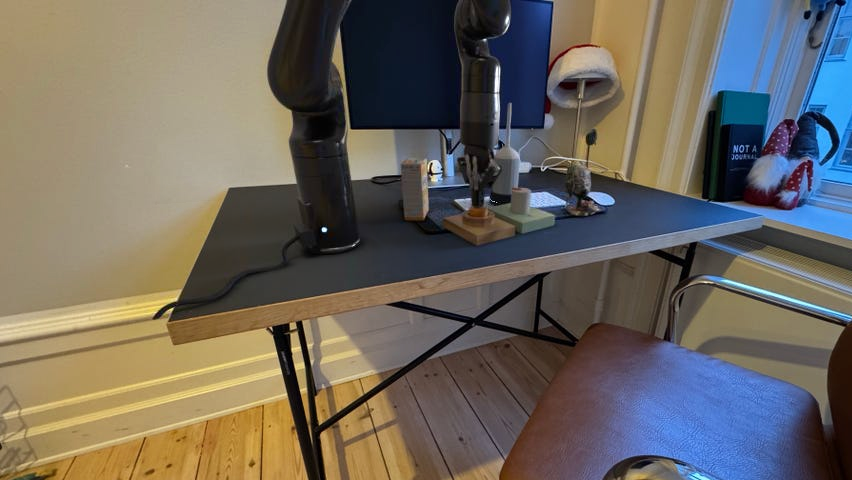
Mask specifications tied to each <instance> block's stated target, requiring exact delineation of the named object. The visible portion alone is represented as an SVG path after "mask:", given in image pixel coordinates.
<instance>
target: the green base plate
mask: <svg viewBox="0 0 852 480" xmlns="http://www.w3.org/2000/svg"><path fill="white" fill-rule="evenodd" d="M488 210H489V211H492V212H494V214H495V218H498V219H500V220H502V221H505V222H507V223H509V224H512V225H514V226H515V232H517V233H519V234H521V235H523V234H526V233H530V232H534V231H538V230H541V229H546V228H549V227H553V226H555V222H556V221H555V220H556V215H555V214H553V213H550V212H547V211H544V210H542V209H539V208H536V207H533V206H532V205H530V210H529V213H526V214H516V213H512V212H511V203H509V204H504V205H499V206H494V205H493V206H488Z"/></svg>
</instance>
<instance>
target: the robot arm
mask: <svg viewBox="0 0 852 480" xmlns="http://www.w3.org/2000/svg"><path fill="white" fill-rule="evenodd" d="M352 2H353V0H286V2H285V4H284V5H285V6H284V9H283V12H282V16H281V19H280V22H279V25H278V29H277V32H276V34H275V38H274V41H273V43H272V46H271V50H270V52H269V53H270V54H269V57H268V60H267V66H266V77H267V78H266V79H267V83H268V86H269V89H270V91H271V93H272V95H273V97H274V98H275V99H276V101H277V102H278V103H279V104H280V105H281V106H282V107H284V108H285V109H287V110H289V111H291V118H292V126H291V127H292V128H291V132H290V135H289V136H288V149H289V153H290V156H291V157H290V158H291V162H292V166H293V167H292V168H293V172H294V176H295V177H294V178H295V183H296V186H297V191H298V196H297V198H296V199H297V203H298V209H299V213H300V218H301V222H302V223H300V224H294V225H293V227H294V231H295V236H294V237H293V238H291V239H290V240H288V241H287V242H286V243H285V244H284V245H283V247H282V249H281V256H282V261H281V262H280V263H279V264H278V265H276V266H272V267H264V268H252V269H247V270H244V271H241V272H239V273H237V274H236V275H234V276H233V277H232V278H230V279H229V281H228V282H227V283H226V285H225V286H224V287H223V288H222V289H221V290H219V291H218V292H215V293H213V294H211V295H207V296H203V297H198V298H189V299H181V300H175V301H173V302H169V303H167V304H165V305H164V306H162V307H161V308H160V309H159V310H157V312H156V313H155V314H154V315H153V317H152V319H151V320H152V321H155V320H158V319H160V318H162V317H163V316H164V314H166V312H168V311H170V310H171V309H174V308H177V307H181V306H187V305H197V304H203V303H207V302H208V303H209V302H212V301H214V300H217V299H218V298H220V297H222V296H224V295H226V294H227V293H228V292H229V291H230V289H231V288H232V287H233V285H234V284H235V283H236V282H237V281H238V280H239V279H241V278H243V277H245V276H249V275H253V274H260V273H261V274H262V273H266V272H272V271H276V270H279V269H282V268H284V267H285V266H286V265H287V264H288V261H289V259H288V258H289V257H288V255H287V250H288V249H289V247H291V245H293V244H294V243H295V242H297V241H298V243H299V245H300V246H301V247H302V248H303V249H304V248H309V250H310V251H311V252H312V253H313V255H315V256H316V255H321V254H323V255H325V254H326V255H327V254H328V255H330V254H339V253H345V252H348V251H351V250H353V249H355V248H357V247H358V246H360V244H361V237H360V232H359V226H358V220H357V219H358V218H357V211H356V204H355V197H354V188H353V182H352V174H351V168H350V161H349V154H348V145H347V144H348V143H347V142H348V120H347V109H346V99H345V92H344V85H343V79H342V78H341V77H342V76H341V74H340V72H339V69H338V67H337V65H336V64H335V63H334V62H333V56H334V51H335V46H336V41H337V36H338V33H339V30H340V27H341V23H342V21H343V19H344V16H345V15H346V12H347V11H348V9H349V7H350V6H351V4H352ZM511 17H512V8H511V2H510V0H458V2H457V4H456V7H455V11H454V20H453V21H454V22H453V25H454V26H453V27H454V28H453V29H454V34H455V41H456V46H457V50H458V56H459V60H460V64H461V96H460V103H459V104H460V105H459V119H460V120H459V142H460V144H461V145H463V146H464V148H463V155H462V156H460V157H458V156H457V158H456V162H457V165H458V167H459V170H460V173H461V176H462V178H463V181H464V183H465V184H466V185H469V189H470V203H471V205H470V206H474V207H476V208H478V207H483V206H485V195H486V190H487V189H493V185H494V183H495V181H496V180H497V178H498V177H499V175H500V173H501V172H502V170H503V168H502V166H501V165H499V166H498V165H497V164H496V162H495V154H496V152H495V146H497V145H498V144H499V134H500V133H499V132H500V115H501V114H500V111H501V106H500V104H501V103H500V84H501V83H500V82H501V64H500V61H499V60H498V58H497V57H495V56H493V55H491V53H490V49H489V41H488V40H491V39H492V40H493V39H497V38H499V37H501V36H503V35H504V34H505V33H506V32H507V30H508V28H509V27H510V23H511V19H512V18H511ZM177 301H178V303H177ZM176 304H177V305H176Z"/></svg>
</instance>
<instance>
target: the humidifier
mask: <svg viewBox="0 0 852 480" xmlns="http://www.w3.org/2000/svg"><path fill="white" fill-rule="evenodd" d="M506 114H507V115H506V118H507V119H506V128H505V129H506V130H505V132H506V133H505V144H504V146H503V147H501V148H500V149H498V150H497V151H496V152H495V162H496V164H497V165H498V166H499V165H501V166H502V168H503V170H502V172H501V173H500V175H499V177H498V178H497V180H496V181H495V183H494V185H493V186H492V190H491V191H490V193H489V204H490V205H491V206H493V207H494V206H499V205H504V204H509V203H511V194H512V188H519V177H520V162H521V159H520V154H519V153H518V151H517V150H515V149H514V148H513V147H511V144H510V142H511V121H512V102H508V106H507V113H506ZM490 199H491V200H492V201H495V202H492V201H491V200H490ZM496 202H497V203H496Z"/></svg>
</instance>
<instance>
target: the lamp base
mask: <svg viewBox="0 0 852 480" xmlns="http://www.w3.org/2000/svg"><path fill="white" fill-rule="evenodd" d="M442 228H444V229H447V230H448V231H450V232H451V233H453V234H455V235H457V236H459V237H460V238H462V239H464V240H465V241H467V242H469V243H471V244H472V245H475V246H480V245H484V244H488V243H492V242H496V241H499V240H504V239H507V238H511V237H515V236H516V231H515V226H514V225H512V224H509V223H507V222H505V221H502V220H500V219H498V218H495V214H494V212H492V211H489V210H488V216H485V217H472V216H469V209H467V210H464V211H462V212H461V213H460V214H459V213H458V214H455V215H450V216H444V217H442Z"/></svg>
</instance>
